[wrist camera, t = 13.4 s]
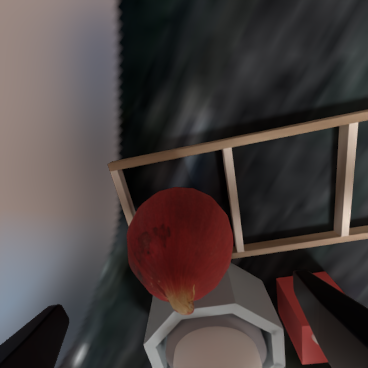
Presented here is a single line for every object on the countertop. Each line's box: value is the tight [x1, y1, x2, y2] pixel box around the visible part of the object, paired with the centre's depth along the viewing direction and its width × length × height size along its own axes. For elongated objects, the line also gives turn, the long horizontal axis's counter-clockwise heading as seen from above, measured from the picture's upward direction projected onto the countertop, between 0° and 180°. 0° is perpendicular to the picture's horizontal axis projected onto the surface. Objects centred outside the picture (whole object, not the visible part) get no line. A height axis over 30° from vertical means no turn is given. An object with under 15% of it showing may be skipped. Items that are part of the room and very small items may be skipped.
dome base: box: [144, 262, 345, 368], centre depth 15 cm, size 10×15×4 cm, turn 102°
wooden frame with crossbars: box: [108, 110, 368, 259], centre depth 13 cm, size 9×23×1 cm, turn 102°
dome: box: [165, 313, 267, 368], centre depth 13 cm, size 7×7×6 cm
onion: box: [127, 187, 233, 315], centre depth 11 cm, size 6×6×8 cm
